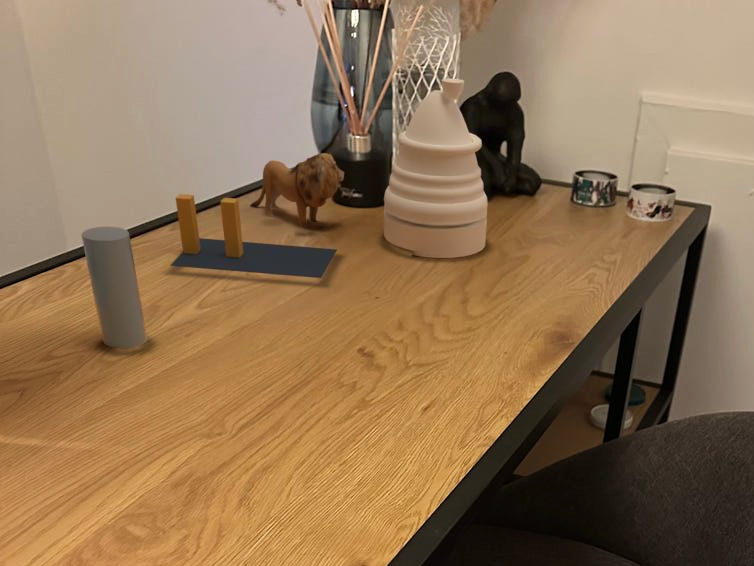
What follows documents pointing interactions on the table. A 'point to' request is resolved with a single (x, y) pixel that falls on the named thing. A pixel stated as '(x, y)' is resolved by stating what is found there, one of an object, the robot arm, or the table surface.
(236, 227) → the post
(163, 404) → the table surface
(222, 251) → the mat
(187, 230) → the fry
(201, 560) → the table surface
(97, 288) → the grey cylinder
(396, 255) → the table surface
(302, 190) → the lion figurine
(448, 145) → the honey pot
